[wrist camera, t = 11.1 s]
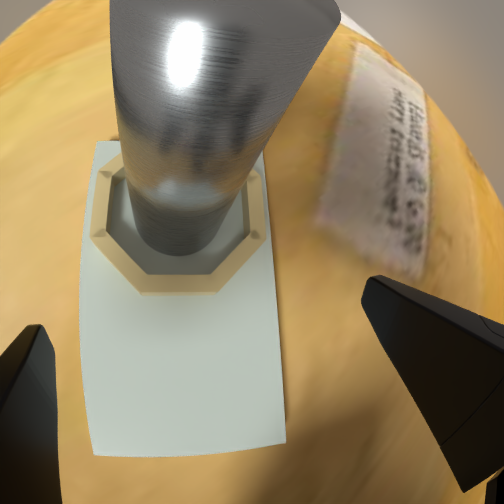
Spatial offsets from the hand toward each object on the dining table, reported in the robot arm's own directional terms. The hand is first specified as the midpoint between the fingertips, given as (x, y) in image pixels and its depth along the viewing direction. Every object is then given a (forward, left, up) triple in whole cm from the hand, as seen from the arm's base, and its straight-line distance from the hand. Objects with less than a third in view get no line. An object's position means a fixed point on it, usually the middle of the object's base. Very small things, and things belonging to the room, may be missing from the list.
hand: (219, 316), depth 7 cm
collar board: (+2, +1, -9) cm, 9 cm away
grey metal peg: (+6, +1, -7) cm, 9 cm away
